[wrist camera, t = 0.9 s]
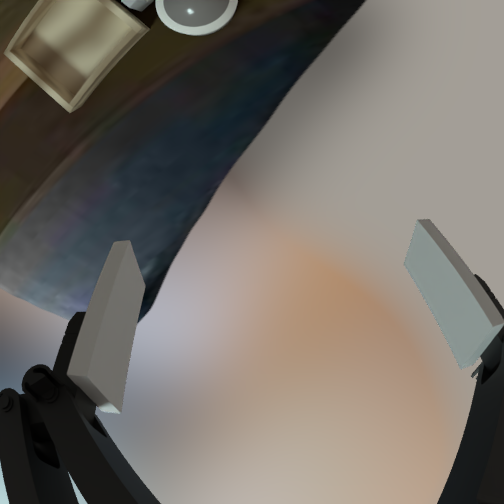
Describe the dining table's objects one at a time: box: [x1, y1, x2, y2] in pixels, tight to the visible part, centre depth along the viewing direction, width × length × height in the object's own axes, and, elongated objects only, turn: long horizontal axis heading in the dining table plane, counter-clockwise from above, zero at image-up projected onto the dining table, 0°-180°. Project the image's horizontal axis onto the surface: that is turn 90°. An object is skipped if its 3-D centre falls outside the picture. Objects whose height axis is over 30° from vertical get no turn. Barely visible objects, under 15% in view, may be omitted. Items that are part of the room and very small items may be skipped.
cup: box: [156, 0, 238, 36], centre depth 21 cm, size 7×7×5 cm
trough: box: [4, 0, 150, 113], centre depth 21 cm, size 12×11×3 cm
